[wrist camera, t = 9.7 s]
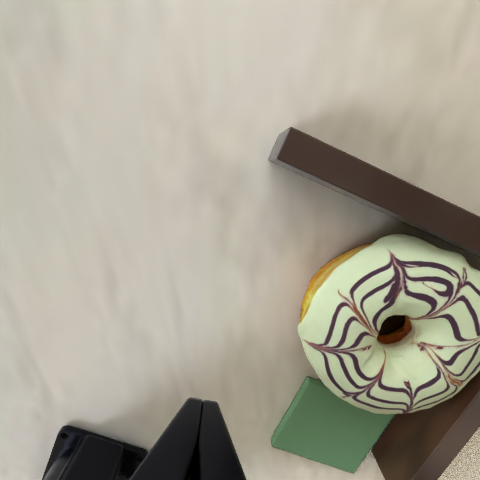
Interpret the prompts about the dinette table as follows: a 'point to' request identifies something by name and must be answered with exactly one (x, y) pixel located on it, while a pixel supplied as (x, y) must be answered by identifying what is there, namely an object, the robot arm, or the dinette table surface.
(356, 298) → the decorated donut
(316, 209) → the dinette table surface
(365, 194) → the corner guide
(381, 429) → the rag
